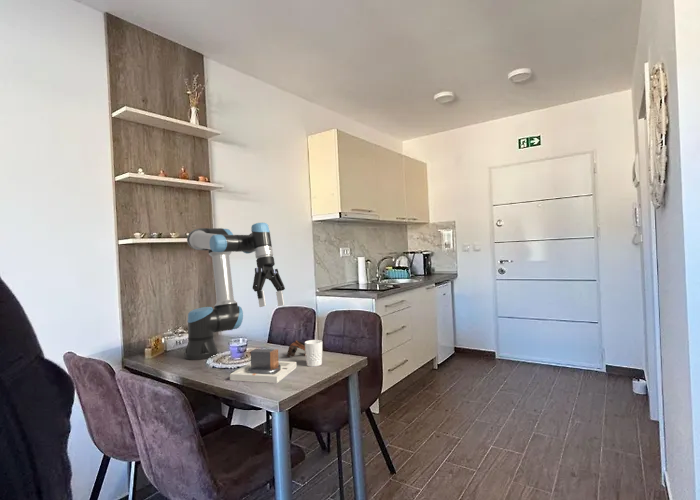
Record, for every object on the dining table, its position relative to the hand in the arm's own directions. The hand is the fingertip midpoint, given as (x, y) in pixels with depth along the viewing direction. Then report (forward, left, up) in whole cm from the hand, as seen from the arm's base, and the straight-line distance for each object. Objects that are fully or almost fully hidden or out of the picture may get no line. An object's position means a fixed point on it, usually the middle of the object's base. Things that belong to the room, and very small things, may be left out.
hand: (272, 306), depth 167 cm
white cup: (+14, +11, -28) cm, 33 cm away
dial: (-2, -5, -26) cm, 27 cm away
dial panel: (-2, -5, -27) cm, 28 cm away
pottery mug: (+1, +23, -28) cm, 36 cm away
